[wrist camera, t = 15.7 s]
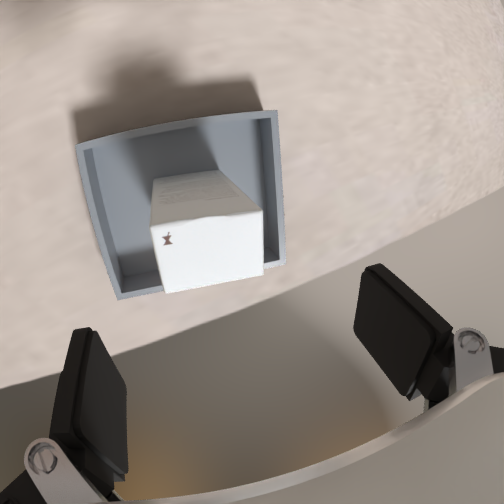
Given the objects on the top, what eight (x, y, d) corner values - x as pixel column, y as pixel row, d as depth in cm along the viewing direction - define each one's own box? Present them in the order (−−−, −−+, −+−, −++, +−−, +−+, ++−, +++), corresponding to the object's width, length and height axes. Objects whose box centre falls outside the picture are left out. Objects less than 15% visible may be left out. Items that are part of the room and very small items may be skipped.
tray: (263, 110, 25) (277, 110, 22) (273, 248, 31) (286, 264, 28) (85, 141, 22) (74, 144, 19) (121, 280, 28) (117, 300, 25)
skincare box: (159, 223, 26) (160, 296, 16) (153, 177, 25) (145, 224, 14) (225, 213, 28) (266, 277, 17) (221, 168, 26) (264, 206, 16)
